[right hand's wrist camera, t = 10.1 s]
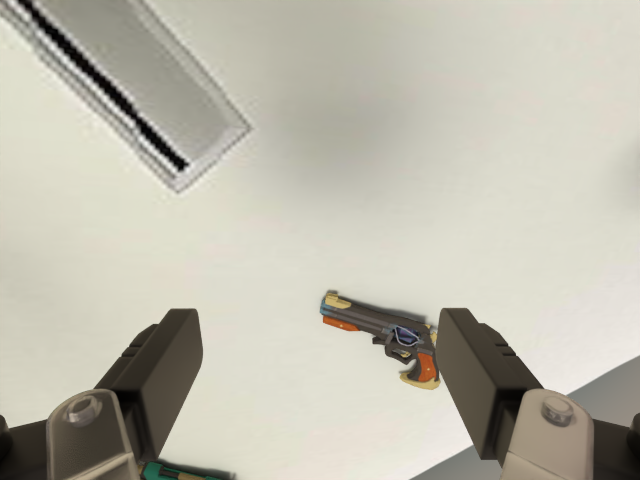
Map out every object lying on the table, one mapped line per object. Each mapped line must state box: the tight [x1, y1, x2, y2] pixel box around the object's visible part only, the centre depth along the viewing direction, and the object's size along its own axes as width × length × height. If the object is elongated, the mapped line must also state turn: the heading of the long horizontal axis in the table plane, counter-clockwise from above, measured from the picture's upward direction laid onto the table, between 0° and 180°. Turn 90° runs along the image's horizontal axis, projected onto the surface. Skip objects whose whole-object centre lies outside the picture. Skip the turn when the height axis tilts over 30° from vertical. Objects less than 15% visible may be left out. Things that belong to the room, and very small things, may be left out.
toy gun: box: [320, 293, 440, 390], centre depth 46 cm, size 3×19×10 cm
